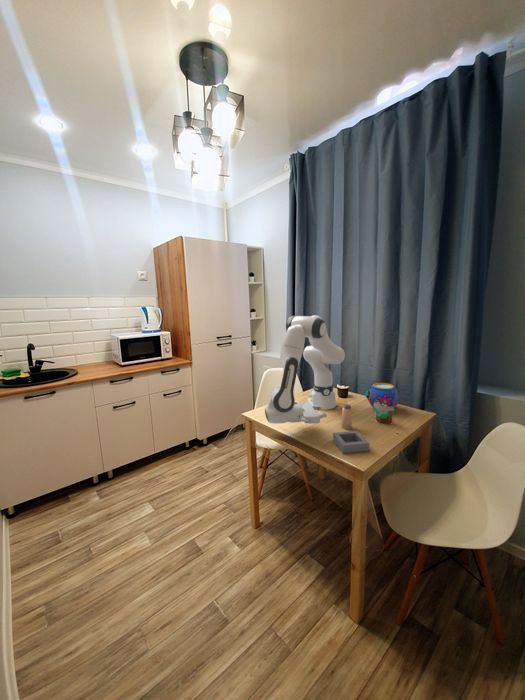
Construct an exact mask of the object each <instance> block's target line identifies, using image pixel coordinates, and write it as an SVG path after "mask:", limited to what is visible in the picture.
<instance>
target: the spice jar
mask: <svg viewBox="0 0 525 700" xmlns="http://www.w3.org/2000/svg"><path fill="white" fill-rule="evenodd" d="M341 428H342V430H343V429H344V430H346V431H347V430H348V431H350V430H352V428H353V407H352V406H351V404H343V406H342V407H341Z"/></svg>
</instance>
